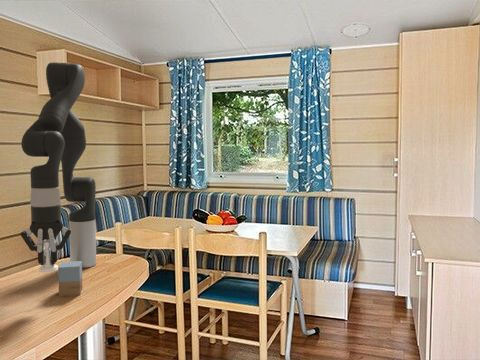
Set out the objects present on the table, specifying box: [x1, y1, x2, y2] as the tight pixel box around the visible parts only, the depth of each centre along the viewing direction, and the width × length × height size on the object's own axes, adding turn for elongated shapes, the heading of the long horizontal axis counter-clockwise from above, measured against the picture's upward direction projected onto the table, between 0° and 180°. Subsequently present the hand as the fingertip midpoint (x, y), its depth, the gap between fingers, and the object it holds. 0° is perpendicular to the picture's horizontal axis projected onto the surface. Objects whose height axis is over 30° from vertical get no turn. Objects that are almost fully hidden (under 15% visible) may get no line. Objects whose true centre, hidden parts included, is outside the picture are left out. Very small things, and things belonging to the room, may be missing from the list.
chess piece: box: [38, 239, 59, 273], centre depth 117 cm, size 5×5×10 cm
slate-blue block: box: [57, 261, 83, 283], centre depth 129 cm, size 6×6×4 cm
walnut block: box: [58, 276, 83, 298], centre depth 129 cm, size 6×6×4 cm
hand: (48, 264), depth 118 cm, fingers closed on chess piece
